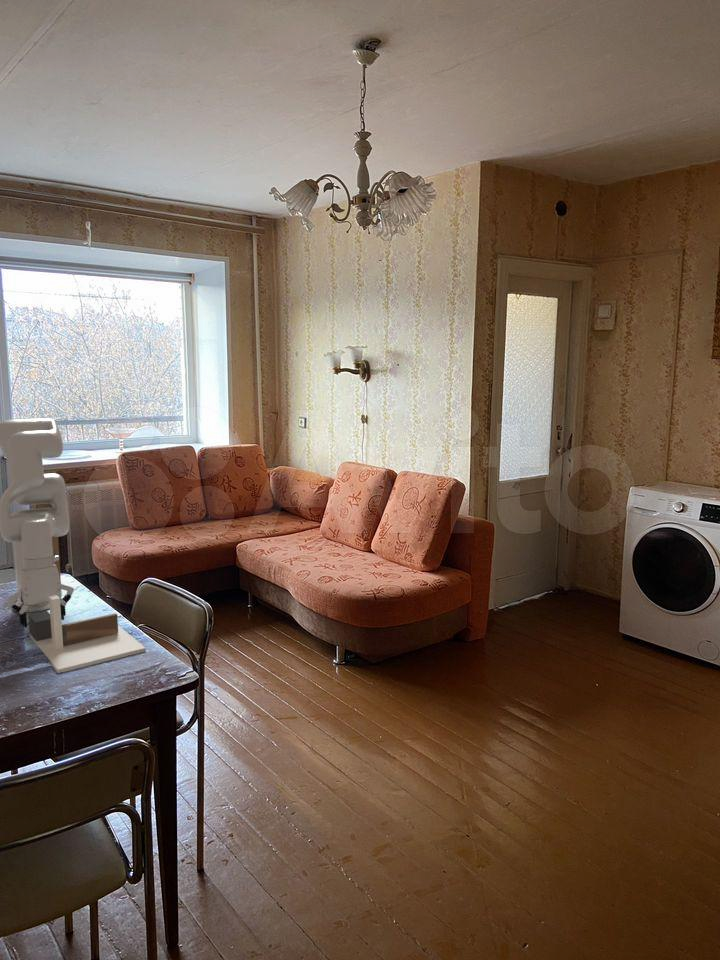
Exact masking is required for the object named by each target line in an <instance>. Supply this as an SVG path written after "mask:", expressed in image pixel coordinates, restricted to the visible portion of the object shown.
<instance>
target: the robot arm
mask: <svg viewBox="0 0 720 960" xmlns="http://www.w3.org/2000/svg"><path fill="white" fill-rule="evenodd" d="M63 443H64V442H63V437H62V434H61V430H60V427H59V425H58V423H57V421H56V420H55V419H53V418H48V417H47V418H46V417H45V418H43V417H42V418H13V419H12V418H11V419H6V420H2V421H0V449H1V451H2V453H3V455H4V457H5V459H6V462H7V467H8V477H9V486H8V487H7V488H6V489H5V490H4V492H3V493H2V495H1V497H0V536H1V538H2V540H3V541H5V542H7V543H12V549H13V557H14V558H13V559H14V572H15V582H16V583H15V584H16V593H14V594H13V595H11V596H9V597H8V598H7V599H6V602H7V604H8V605H9V606H10V607H11V609H12V610H13V611H15V612H17V613H18V619H19V625H21V626H22V627H23V628H24V629H25V628H26V629H27V628H28V620H27V619H28V614H30V613H37V612H42V611H47V610H50V605H49V597H51V596H56V595H57V596H58V597H59V598H60V608H61V621H64V620H65V617H66V615H67V614H66V605H68V604H67V603H68V602H69V601H70V600H71V598H72V595H73V593H74V591H75V588H74V587H72V586H69V585H66V584H62V583H61V584H60V578H59V574H58V570H57V567H56V565H55V564H54V562H55V561H58V560H59V561H60V555H59V556H54V555H53V548H52V537H58V538H59V537H64V536H66V535H68V533H69V531H70V516H69V515H70V513H69V506H68V505H69V504H68V495H67V488H66V487H67V486H66V482H65V479H64V477H63V476H62V475H61V474H58V473H51V472H49V473H45V472H44V471H45V469H44V463H43V459H56V458H57V459H58V458H60V457H61V455H63V451H64V444H63ZM12 503H14V504H15V505H17V506H30V505H31V506H33V505H35V506H36V505H45V504H47V505H48V504H49V505H51V506H52V507H44V508H43V507H42V508H41V507H40V508H30V509H29V508H27V509H22V510H21V509H20V510H17V511H15V512H13V513H11V514H10V506H11V504H12ZM63 591H66V594H65V595H64V596H62V595H63V594H62V593H63ZM15 601H16V602H15Z"/></svg>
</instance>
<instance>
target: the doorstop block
mask: <svg viewBox="0 0 720 960" xmlns="http://www.w3.org/2000/svg"><path fill="white" fill-rule="evenodd" d="M27 619H28V620H27V622H28V631H29V632H28V634H31V635H32V636H33V638H34V639H35V640H36V641H40V640H45V639H49V638H52V633H51V619H50V612H49V611H47V610H43V611H38V612H31V613H27Z"/></svg>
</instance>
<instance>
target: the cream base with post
mask: <svg viewBox="0 0 720 960" xmlns="http://www.w3.org/2000/svg"><path fill="white" fill-rule="evenodd" d="M49 605H50V608H49V614H50V619H51V633H52V638H49V639H45V640H40V641H36V640H35V639H34V638H33V636H32V635H31V634H30V633H28V636H29V637H30V638H31V639H32V641H33V642H34V643H35V644H36V646H38V648H39V649H40V651H42V653H43V654H44V655H45V657H47V658H48V660H47V662H48V663H49V664H50V665H51V667H52V668H53V669H54V670H55V672H56V673H57V674H61V672H62V673H66V672H69V671H73V670H77V669H80V668H81V669H82V668H85V667H89V666H94V665H97V664H101V663H105V662H108V661H113V660H116V659H120V658H124V657H128V655H129V656H132V655H136V653H137V654H140V653H144V652H146V647H145V646H144V645H143V644H141V643H140V642H139V641H138V640H137V639H135V638H134V637H133V636H132V635H130V634H129V633H128V632H127V631H126V630H124V629H123V628H122V627H121V626H120V625H118V633H116V634H112V635H108V636H103V637H99V638H95V639H90V640H86V641H82V642H77V643H73V644H69V645H63V636H62V625H63V624H62V620H61V608H60V598H59V597H58V596H57V595H56V596H51V597H49Z"/></svg>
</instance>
